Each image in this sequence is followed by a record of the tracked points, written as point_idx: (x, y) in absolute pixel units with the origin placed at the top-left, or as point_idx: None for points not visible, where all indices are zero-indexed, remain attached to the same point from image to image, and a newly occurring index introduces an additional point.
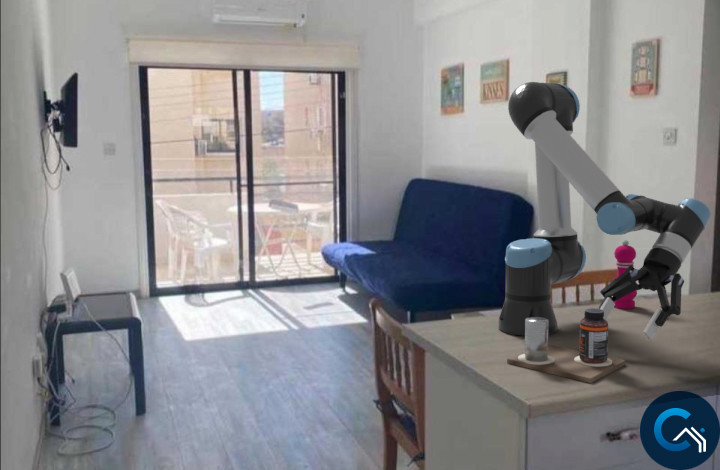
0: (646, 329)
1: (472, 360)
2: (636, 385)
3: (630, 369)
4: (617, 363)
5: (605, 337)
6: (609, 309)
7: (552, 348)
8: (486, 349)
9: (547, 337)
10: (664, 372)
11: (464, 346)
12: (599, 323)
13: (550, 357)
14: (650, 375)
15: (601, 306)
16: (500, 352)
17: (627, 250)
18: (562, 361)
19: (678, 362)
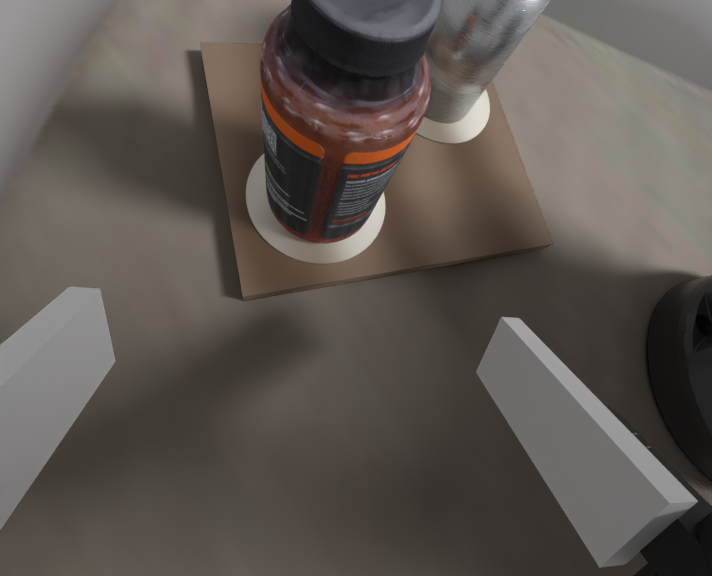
0: (63, 302)
1: (529, 30)
2: (70, 130)
3: (194, 269)
4: (237, 237)
5: (262, 120)
6: (556, 464)
7: (497, 216)
8: (590, 118)
9: (444, 22)
10: None
11: (630, 102)
12: (281, 15)
13: (422, 126)
14: (89, 264)
15: (593, 395)
16: (554, 122)
17: None
18: None
19: (82, 552)
